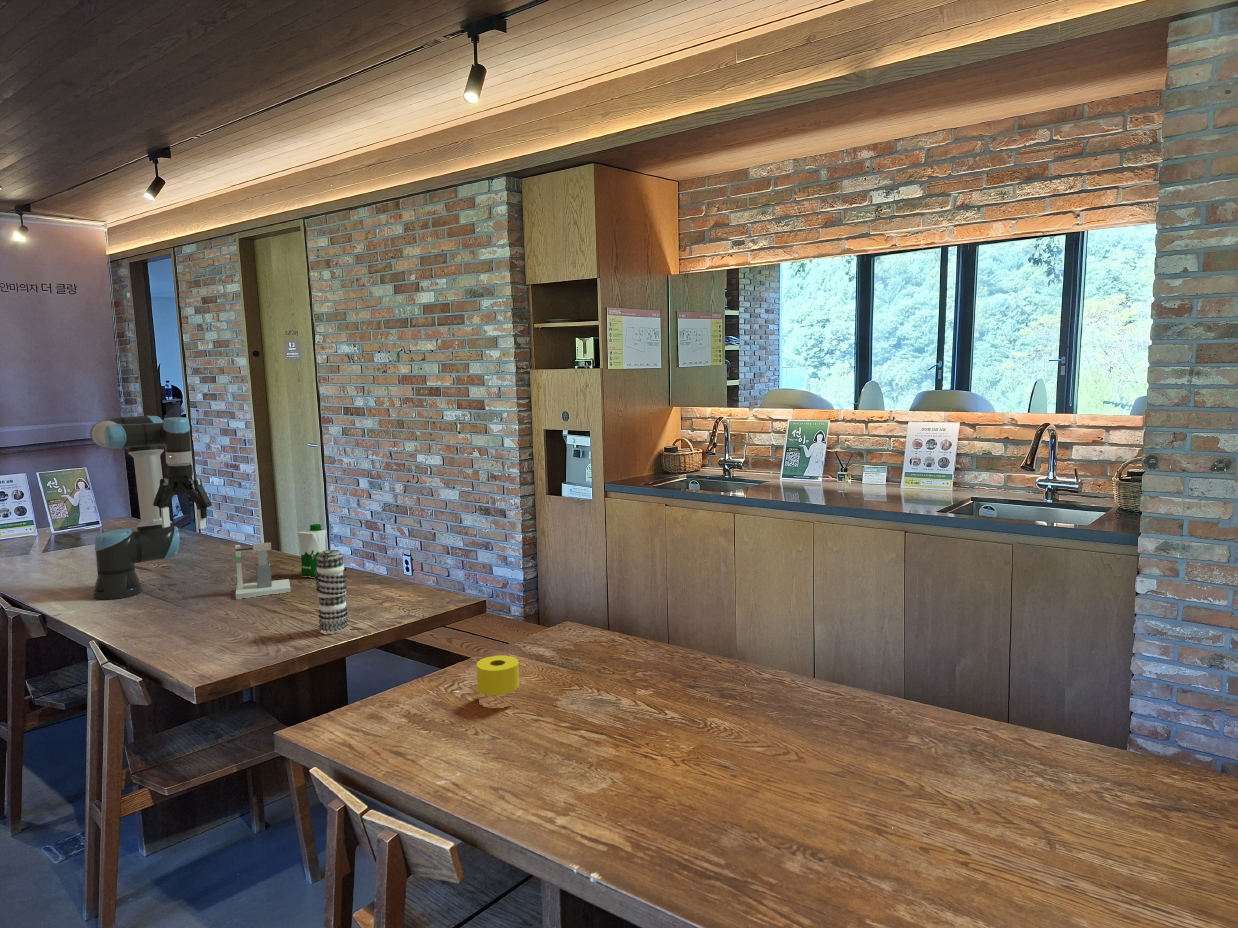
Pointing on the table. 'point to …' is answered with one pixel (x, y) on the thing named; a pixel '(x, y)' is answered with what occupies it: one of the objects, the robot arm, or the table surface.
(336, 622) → the decorative candle
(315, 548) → the milk carton
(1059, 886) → the table surface
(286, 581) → the stand
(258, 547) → the square paddle
